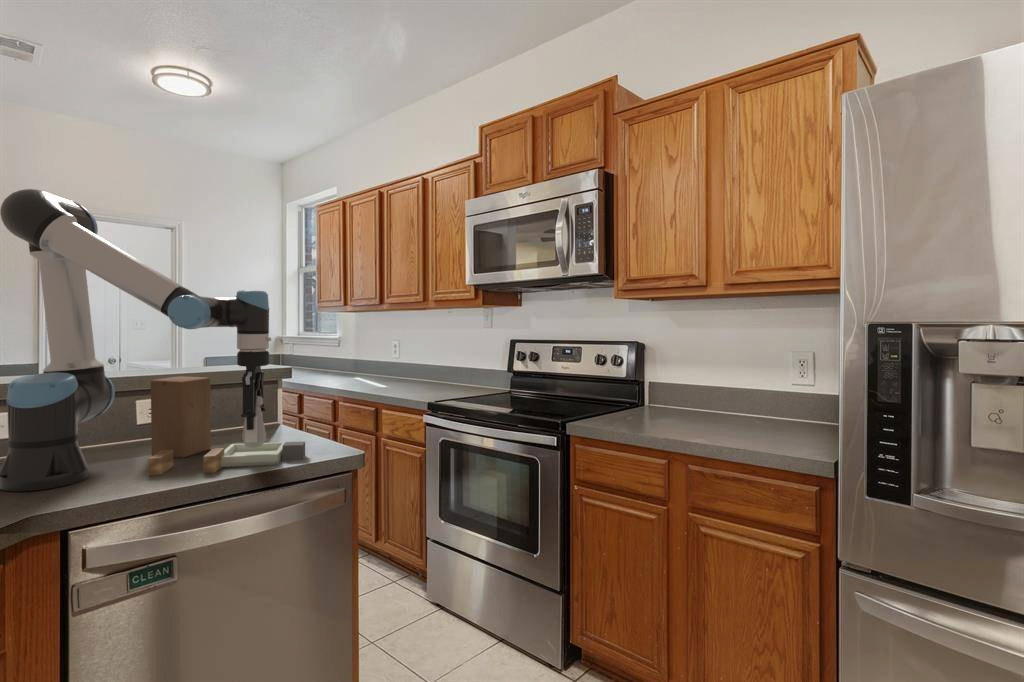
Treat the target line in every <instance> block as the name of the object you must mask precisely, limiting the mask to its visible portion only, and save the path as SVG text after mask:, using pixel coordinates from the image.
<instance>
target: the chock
mask: <svg viewBox="0 0 1024 682" xmlns="http://www.w3.org/2000/svg"><path fill="white" fill-rule="evenodd" d="M284 442H285V441H284ZM305 457H306V441H286V442H285V443H284V444H283V458H282V461H283V460H284V461H303V460H304V459H305Z"/></svg>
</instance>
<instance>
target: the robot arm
mask: <svg viewBox="0 0 1024 682" xmlns="http://www.w3.org/2000/svg"><path fill="white" fill-rule="evenodd" d="M0 205H1V206H0V219H1V222H2V224H3V225H4V227H5V229H7V230H8V231H9V232H10V233H11V234H12V235H13V236H15V237H17V238H19V239H21V240H22V241H25V242H27V243H28V249H29V254H30V256H31V257H33V258H34V259H36V260H37V261H38V264H39V271H40V272H39V273H40V279H41V289H42V290H41V291H42V297H43V307H44V315H45V324H46V325H45V326H46V335H47V343H48V350H49V358H50V361H49V363H48V365H46V367H44V369H43V370H42V371H43V372H41V373H36V374H30V375H25V376H20V377H18V378H15V379H13V380H12V381H11V382H9V384H8V387H7V394H6V399H5V400H6V401H5V402H6V404H7V405H6V406H7V408H6V409H7V433H8V452H7V454H6V457H5V459H4V462H3V465H2V468H1V470H0V490H2V491H4V492H5V491H6V492H31V491H32V492H33V491H41V490H49V489H55V488H59V487H64V486H67V485H72V484H75V483H78V482H81V481H83V480H85V479H87V478H88V477H89V465H88V463H87V460H86V458H85V456H84V454H83V452H82V450H81V447H80V445H79V441H78V439H79V436H78V434H79V433H78V431H79V428H78V425H79V424H82V423H83V422H88V421H91V420H94V419H97V417H99V416H101V415H102V414H105V412H106V411H108V409H110V407H111V406H112V405H113V402H114V400H115V396H116V390H115V385H114V384H113V382H112V380H111V379H110V378H108V377H107V376H106V375H105V374H106V372H105V366H104V363H102V362H101V361H99V360H98V359H97V358H96V352H95V351H96V350H95V344H94V343H95V342H94V334H93V324H92V315H91V305H90V298H89V296H90V295H89V289H88V288H89V287H88V286H89V285H88V279H87V277H88V276H87V271H88V272H90V273H92V274H93V275H95V276H97V277H98V278H100V279H102V280H104V281H106V282H107V283H110V284H111V285H113V286H114V287H116V288H118V289H120V290H121V291H123V292H125V293H126V294H128V295H130V296H132V297H134V298H135V299H137V300H139V301H140V302H142V303H144V304H146V305H147V306H150V307H151V308H152V309H155V310H156V311H158V312H160V313H161V314H163V315H164V316H166V317H168V318H169V320H170V321H171V323H172V324H173V325H175V326H176V327H179V328H182V329H184V330H185V329H186V330H195V329H201V328H203V329H204V328H236V349H237V350H239V351H237V352H236V356H237V357H236V362H237V363H236V364H237V366H238V367H245V372H244V373H243V376H242V378H241V380H242V414H240V417H241V418H244V422H245V442H257V416H256V402H257V396H260V397H262V398H263V404H262V405H260V408H261V413H262V414H263V412H266V409H267V407H265V402H264V401H265V397H264V394H265V393H264V391H265V388H264V378H265V377H264V376H265V375H264V374H265V372H264V371H262V370H261V369H262V367H265V366H269V365H270V352H269V350H268V349H269V348H270V342H271V341H272V337H270V306H269V305H270V304H269V303H270V301H269V294H268V293H267V292H266V291H265V290H257V289H256V290H255V289H253V290H251V289H250V290H246V289H245V290H244V289H242V290H240V289H239V290H238V291H236V295H235V297H214V296H213V297H211V296H200V295H198V294H197V293H195V292H193V291H191V290H190V289H188V288H187V287H184V286H183V285H181V284H179V282H176V281H174V279H173V280H172V279H171V278H170V277H168V276H166V275H164V274H162V273H161V272H159V271H158V270H156V269H154V268H152V266H151V267H150V265H148V264H146V263H144V262H142V261H141V260H139V259H137V258H136V257H134V256H132V255H131V254H129V253H128V252H125V251H124V250H122V249H121V248H119V247H117V246H115V245H114V244H112V243H110V241H107V240H105V239H104V238H103V237H100V236H99V235H98V232H99V231H98V224H97V221H96V219H95V217H94V215H93V214H92V213H91V212H90V210H88V209H87V208H85V207H84V206H83V205H80V204H79V203H78V202H76V201H74V200H71V199H68V198H63V197H60V196H58V195H54V194H52V193H50V192H47V191H45V190H40V189H35V188H34V189H32V188H26V189H19V190H17V191H13V192H12V193H11V194H9V195H8V196H7V197H6V198H4V199H3V202H2V203H1V204H0Z"/></svg>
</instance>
